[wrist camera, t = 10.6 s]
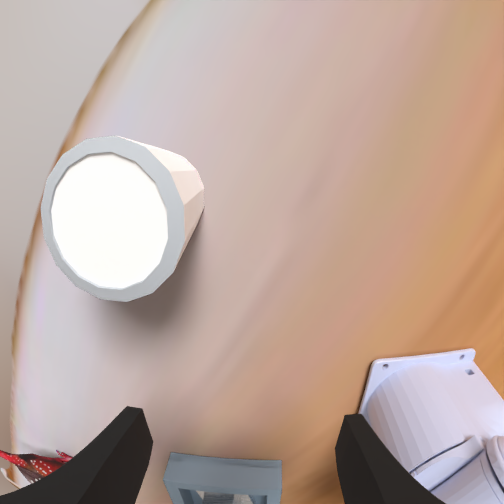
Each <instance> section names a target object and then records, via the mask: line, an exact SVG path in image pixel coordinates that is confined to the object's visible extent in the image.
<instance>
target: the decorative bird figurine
mask: <svg viewBox="0 0 504 504" xmlns="http://www.w3.org/2000/svg"><path fill="white" fill-rule="evenodd" d="M56 451H57V450H56ZM57 453H58V454H59V455H60V456H61V457H64V458H49V457H43V456H39V455H36V454H10V453H7V452H4V451H1V450H0V457H2V458H4V459H6V460H8V461H10V462H11V463H13V464H15V465H16V466H17V467H18V469H19V470H20V472H21V473H22V474H23V475H24V476H25V478H26V479H27V480H28V481H29V482H30V483H31V484H32V483H34V482H36V481H38V480H40V479H42V478H44V477H45V476H47V475H49V474H50V473H52V472H54V471H55V470H57V469H58V468H60V467H61V466H63V465H64V464H65V463H64V462H68V461H69V460H71V459H72V457H70V456H68V455H66V454H65V453H63V452H62V453H61V454H60V453H59V452H58V451H57ZM62 454H63V455H62Z"/></svg>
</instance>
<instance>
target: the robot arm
mask: <svg viewBox="0 0 504 504" xmlns="http://www.w3.org/2000/svg"><path fill="white" fill-rule="evenodd" d="M461 355H462V356H461ZM460 356H461V357H460ZM474 356H475V350H474V349H473V348H470V349H464V350H457V351H450V352H443V353H435V354H427V355H418V356H408V357H397V358H386V359H377V360H375V361H374V362H373V363H372V365H371V368H370V372H369V376H368V380H367V384H366V388H365V391H364V395H363V398H362V402H361V405H360V409H359V412H358V414H352V415H345V416H344V420H343V423H342V427H341V430H340V434H339V437H338V440H337V444H336V447H335V452H336V463H337V471H338V476H339V480H340V485H341V489H342V493H343V497H344V502H345V504H504V401H503V399H502V398H501V397H500V395H499V394H498V393H497V391H496V390H495V389H494V387H493V386H492V385H491V383H490V382H489V381H488V379H487V378H486V377H485V376H484V374H483V373H482V372H481V370H480V369H479V368H478V367H477V365H476V364H475V363H474V362H473V359H474ZM384 364H386V365H385V366H383V365H384ZM152 446H153V440H152V437H151V434H150V431H149V428H148V425H147V422H146V419H145V416H144V413H143V409H141V408H135V407H129V406H127V407H126V408H125V409H124V410H123V411H122V412H121V413H120V414H119V415H118V416H117V417H116V418H115V419H114V420H113V421H112V422H111V423H110V424H109V425H108V426H107V427H106V428H105V429H104V430H103V431H102V432H101V433H100V434H99V435H98V436H97V437H96V438H95V439H94V440H93V441H92V442H91V443H90V444H88V445H87V446H86V447H85V448H84V449H83V450H82V451H80V452H79V453H78V454H77V455H76V456H74V457H73V458H72V459H71V460H69V461H68V462H67V463H65V464H64V465H63V466H61V467H60V468H58V469H57V470H55V471H54V472H52V473H50V474H49V475H47V476H45V477H44V478H42V479H40V480H38V481H36V482H34V483H32V484H30V485H28V486H26V487H23V488H21V489H19V490H17V491H14V492H11V493H8V494H5V495H1V496H0V504H135V502H136V499H137V496H138V493H139V490H140V487H141V485H142V482H143V479H144V476H145V473H146V471H147V468H148V465H149V460H150V456H151V451H152Z"/></svg>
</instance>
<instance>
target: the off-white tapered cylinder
mask: <svg viewBox="0 0 504 504" xmlns="http://www.w3.org/2000/svg"><path fill="white" fill-rule="evenodd" d="M203 209H204V186H203V184H202V181H201V179H200V176H199V174H198V172H197V170H196V169H195V168H194V167H193V166H192V165H191V164H190V163H189V162H188V161H187V160H186V159H185V158H184V157H183V156H180V155H178V154H175V153H172V152H170V151H167V150H164V149H161V148H158V147H154V146H151V145H147V144H144V143H141V142H137V141H134V140H130V139H127V138H123V137H119V136H106V137H98V138H90V139H86V140H84V141H82V142H81V143H79V144H78V145H76V146H75V147H73V148H72V149H70V150H69V151H67V152H66V153H64V154H63V155H62V156H61V158H60V159H59V161H58V162H57V164H56V166H55V167H54V169H53V170H52V172H51V173H50V175H49V177H48V178H47V181H46V185H45V190H44V194H43V199H42V204H41V216H42V225H43V233H44V239H45V241H46V243H47V246H48V248H49V250H50V252H51V254H52V257H53V259H54V261H55V263H56V265H57V266H58V267H59V268H60V270H61V271H62V272H63V273H64V274H65V275H66V276H67V277H68V278H69V279H70V281H71V282H72V283H73V284H74V285H75V286H76V287H78V288H80V289H82V290H84V291H86V292H87V293H89V294H91V295H93V296H95V297H97V298H99V299H103V300H112V301H122V302H128V301H131V300H134V299H137V298H140V297H143V296H146V295H149V294H152V293H153V292H154V291H155V290H156V289H157V288H158V287H159V286H160V285H161V284H162V283H163V282H164V281H165V280H166V279H167V278H168V277H169V276H170V275H171V274H172V273H173V272H174V270H175V268H176V266H177V264H178V262H179V260H180V258H181V256H182V254H183V252H184V250H185V248H186V246H187V244H188V242H189V240H190V238H191V236H192V234H193V232H194V230H195V228H196V226H197V224H198V221H199V219H200V216H201V214H202V211H203Z"/></svg>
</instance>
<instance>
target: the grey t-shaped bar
mask: <svg viewBox="0 0 504 504" xmlns="http://www.w3.org/2000/svg"><path fill="white" fill-rule="evenodd" d="M196 492H197V493H198V494H199V496H200V497H201V498H202V499H203V503H202V504H256V500H255V499H254V497H253V495H240V494H225V493H214V492H204V491H196Z"/></svg>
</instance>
